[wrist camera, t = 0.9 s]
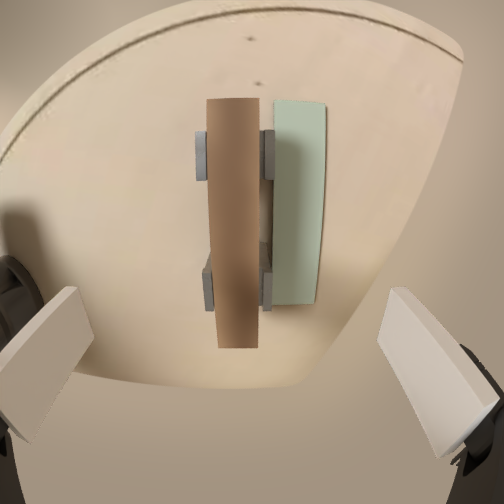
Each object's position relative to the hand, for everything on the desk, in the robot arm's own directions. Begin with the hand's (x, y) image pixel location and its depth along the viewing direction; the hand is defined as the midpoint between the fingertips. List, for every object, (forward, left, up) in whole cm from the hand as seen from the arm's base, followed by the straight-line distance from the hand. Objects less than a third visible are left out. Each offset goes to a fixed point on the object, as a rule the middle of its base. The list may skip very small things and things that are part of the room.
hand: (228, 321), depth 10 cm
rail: (0, 0, -14) cm, 14 cm away
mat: (+6, 0, -21) cm, 22 cm away
